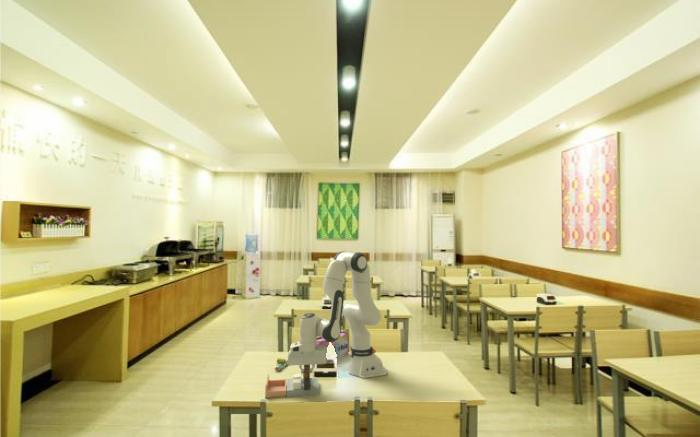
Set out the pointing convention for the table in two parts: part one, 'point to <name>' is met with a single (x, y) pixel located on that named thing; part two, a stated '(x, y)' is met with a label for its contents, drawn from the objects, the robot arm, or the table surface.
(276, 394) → the box
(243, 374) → the table surface
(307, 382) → the scraper
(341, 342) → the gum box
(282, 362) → the flamethrower
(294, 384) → the tile
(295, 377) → the tile
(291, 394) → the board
